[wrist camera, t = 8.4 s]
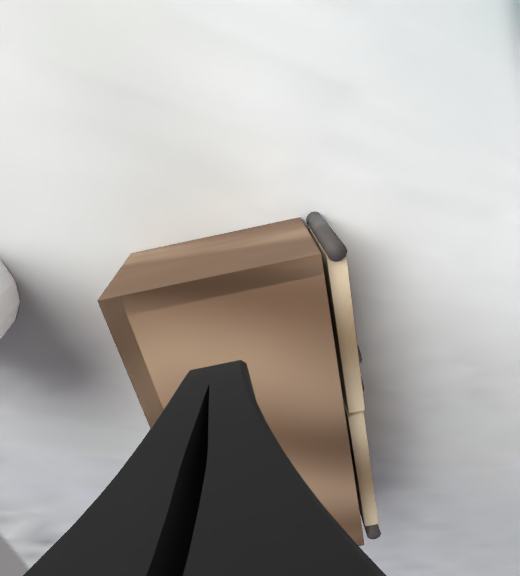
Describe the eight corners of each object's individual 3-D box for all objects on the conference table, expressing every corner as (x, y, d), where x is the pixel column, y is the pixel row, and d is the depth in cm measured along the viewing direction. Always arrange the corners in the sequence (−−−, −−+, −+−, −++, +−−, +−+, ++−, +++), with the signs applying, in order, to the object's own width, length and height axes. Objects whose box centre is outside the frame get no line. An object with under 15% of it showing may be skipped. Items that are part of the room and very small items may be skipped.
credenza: (367, 460, 25) (396, 539, 20) (215, 489, 25) (210, 573, 21) (335, 206, 18) (368, 239, 14) (129, 250, 19) (95, 296, 14)
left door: (368, 463, 25) (394, 535, 21) (345, 467, 25) (367, 540, 21) (353, 354, 22) (381, 413, 17) (327, 359, 22) (349, 420, 17)
